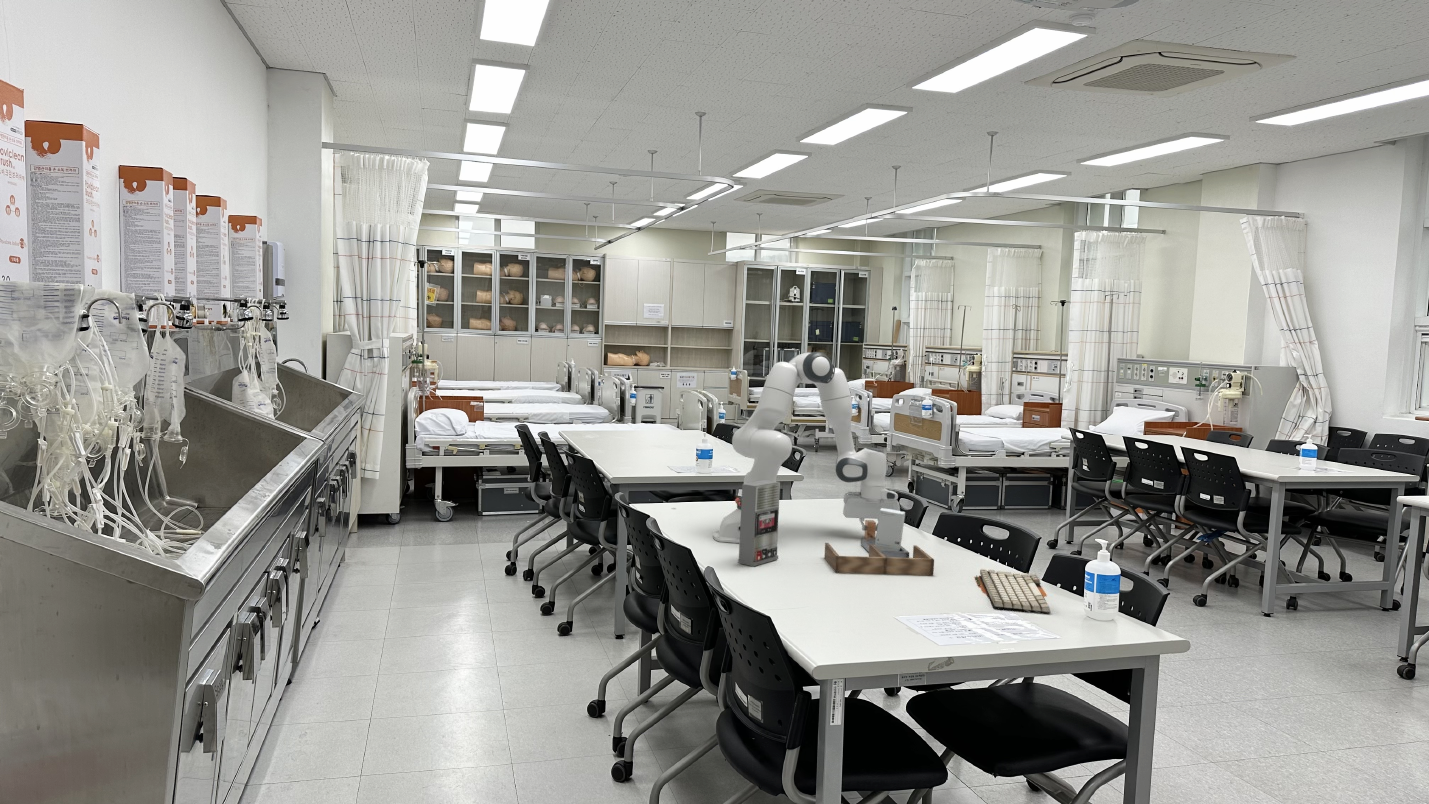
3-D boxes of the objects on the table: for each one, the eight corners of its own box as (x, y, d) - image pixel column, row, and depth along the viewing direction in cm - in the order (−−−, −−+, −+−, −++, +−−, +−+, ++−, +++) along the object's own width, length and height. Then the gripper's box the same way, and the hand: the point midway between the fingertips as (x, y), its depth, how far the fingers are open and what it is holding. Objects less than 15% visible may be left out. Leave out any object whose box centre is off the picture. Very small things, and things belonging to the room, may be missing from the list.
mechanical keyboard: (1063, 618, 237) (1064, 605, 237) (988, 612, 240) (989, 600, 240) (1036, 582, 274) (1037, 572, 274) (972, 578, 278) (972, 567, 277)
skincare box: (873, 553, 298) (877, 509, 297) (876, 550, 304) (880, 507, 303) (899, 557, 296) (903, 513, 295) (901, 554, 301) (905, 510, 300)
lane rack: (835, 572, 272) (836, 556, 272) (824, 557, 291) (825, 542, 291) (933, 575, 274) (934, 559, 274) (915, 560, 293) (916, 545, 293)
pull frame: (874, 557, 293) (875, 539, 293) (852, 535, 326) (853, 519, 325) (909, 558, 294) (910, 540, 294) (884, 536, 327) (885, 520, 326)
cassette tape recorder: (754, 567, 275) (758, 486, 273) (737, 563, 278) (741, 484, 277) (778, 560, 286) (782, 482, 284) (762, 556, 289) (766, 479, 288)
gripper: (845, 493, 319) (843, 531, 320) (902, 495, 320) (900, 533, 321) (842, 490, 325) (840, 527, 326) (897, 492, 326) (895, 529, 327)
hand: (870, 530), depth 324 cm, fingers closed on pull frame, 3 cm apart
